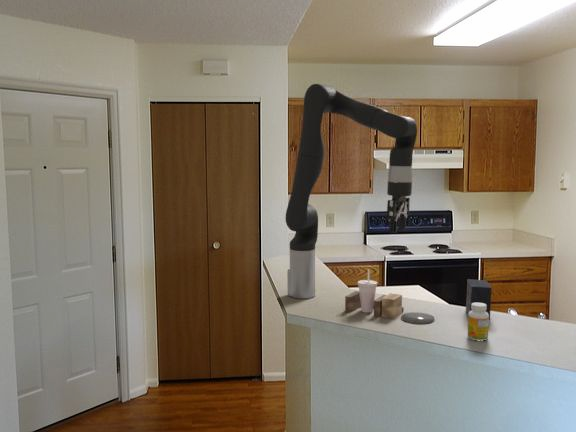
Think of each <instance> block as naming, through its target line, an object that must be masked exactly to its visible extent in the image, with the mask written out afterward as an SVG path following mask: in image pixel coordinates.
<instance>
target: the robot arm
mask: <svg viewBox="0 0 576 432" xmlns="http://www.w3.org/2000/svg"><path fill="white" fill-rule="evenodd" d="M302 111H303V112H302V124H301V131H300V139H299V144H298V151H297V156H296V162H295V170H294V177H293V181H292V187H291V188H292V189H291V193H290V196H289V200H288V204H287V208H286V211H285V223H286V226H287V227H288V229H289V230H291V232H295V234H294V236H293V238H292V239H291V240H290V241H289V269H288V270H287V273H286V274H287V296H289V297H291V298H295V299H311V298H314V297H315V296H316V244H317V241H318V236H319V235H318V234H319V214H318V211H317V209H316V208H315V207H314V206H313V205H312V204H310V203H309V202H310V196H311V193H312V190H313V189H314V186H315V185H316V183H317V181H318V180H319V177H320V175H321V173H322V169H323V164H324V158H325V144H324V141H323V135H322V122H323V117H324V116H323V115H324V114H326V113H329V114H335V115H340V116H343V117H346V118H349V119H351V120H352V121H354V122H356V123H357V124H359V125H362V126H364V127H367V128H370V129H371V130H375V131H378V132H380V133H382V134H384V135H386V136H388V137H390V138H393V139H395V142H394V146H393V147H392V148H391V149H390V151H389V162H388V163H389V166H388V171H387V191H386V193H387V196H391V199H388V200H387V205H386V220H388V221H389V227H388V232H389V233H390V234H397V231H398V229H399V230H401V231H405V230H406V228H407V218H408V216H410V202H411V201H410V197H411V195H412V190H413V189H412V187H413V152H414V148H415V144H416V140H417V136H418V125H417V122H416V121H415V119H413V118H412V117H410V116H403V115H399V114H396V113H392V112H389V111H388V110H386V109H385V108H381V107H379V106H377V105H372V104H370V103H367V102H364V101H360V100H356V99H354V98H351V97H349V96H347V95H345V94H344V93H341V92H340V91H339V90H337V89H335V88H333V87H332V86H330V85H325V84H320V83H313V84H311V85H310V86H309V87H308V88H307V89H306V91H305V94H304V97H303V108H302ZM397 228H398V229H397Z"/></svg>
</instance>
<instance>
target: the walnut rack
mask: <svg viewBox="0 0 576 432" xmlns="http://www.w3.org/2000/svg"><path fill="white" fill-rule="evenodd" d="M344 298H345V300H344V304H345V305H344V307H345V309H344V311H345V312H348V313H352V312H354V311H355V310H357V309H358V308H361V302H360V293H359V290H354V291H353V292H351V293H350V294H346V295H345V296H344ZM404 310H405V308H404V306H403V295H402V294H398V293H388V294H387V295H386V294H382V295H381V296H379V297H377V298H376V299H374V307H373V317H377V318H379V317H382V318H386V319H387V318H389V319H396V318H397V317H398V316H400V315H402V313H404Z"/></svg>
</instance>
